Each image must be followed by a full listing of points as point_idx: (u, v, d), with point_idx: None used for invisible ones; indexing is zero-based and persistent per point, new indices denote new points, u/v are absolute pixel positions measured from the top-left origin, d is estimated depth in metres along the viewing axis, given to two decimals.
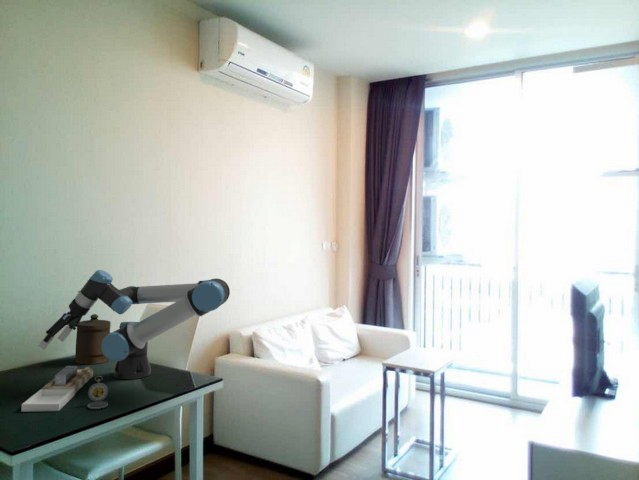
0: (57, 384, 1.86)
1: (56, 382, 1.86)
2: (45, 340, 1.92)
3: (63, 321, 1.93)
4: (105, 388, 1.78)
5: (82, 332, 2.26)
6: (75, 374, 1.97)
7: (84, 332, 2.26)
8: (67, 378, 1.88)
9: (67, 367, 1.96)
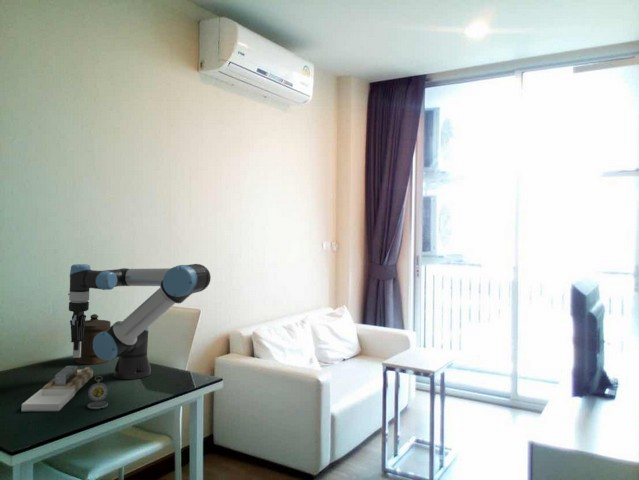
0: (57, 384, 1.86)
1: (56, 382, 1.86)
2: (75, 348, 2.03)
3: (75, 326, 2.00)
4: (105, 388, 1.78)
5: None
6: (75, 374, 1.97)
7: (84, 332, 2.26)
8: (67, 378, 1.88)
9: (67, 367, 1.96)
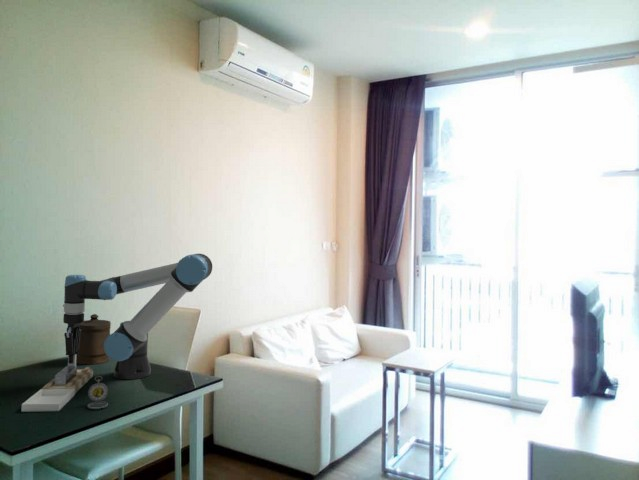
0: (57, 384, 1.86)
1: (56, 382, 1.86)
2: (70, 361, 1.97)
3: (70, 339, 1.94)
4: (105, 388, 1.78)
5: (82, 332, 2.26)
6: (75, 374, 1.97)
7: (84, 332, 2.26)
8: (67, 378, 1.88)
9: (67, 367, 1.96)
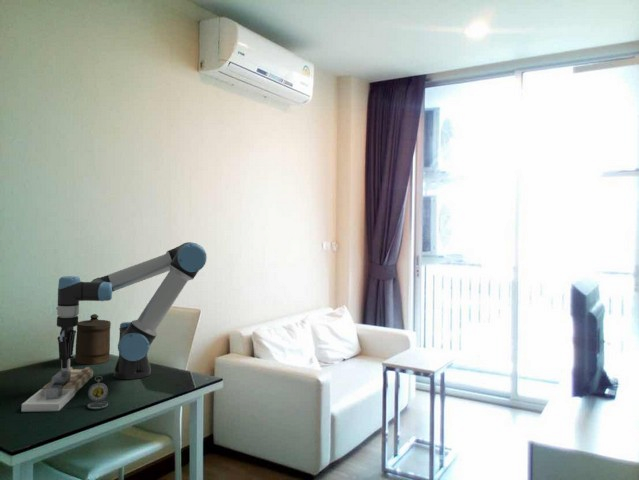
0: None
1: None
2: (64, 366, 1.90)
3: (63, 343, 1.87)
4: (105, 388, 1.78)
5: (82, 332, 2.26)
6: (68, 380, 1.90)
7: (84, 332, 2.26)
8: (59, 392, 1.81)
9: (60, 372, 1.89)
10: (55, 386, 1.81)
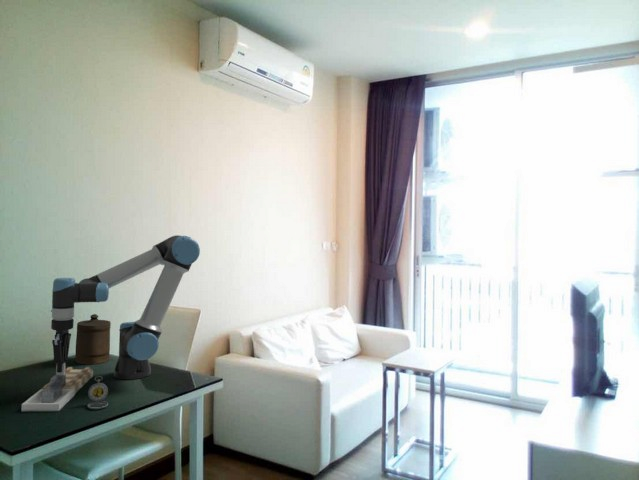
0: None
1: None
2: (59, 370, 1.85)
3: (58, 346, 1.82)
4: (105, 388, 1.78)
5: (82, 332, 2.26)
6: (63, 384, 1.84)
7: (84, 332, 2.26)
8: (55, 396, 1.76)
9: (54, 377, 1.84)
10: (51, 389, 1.77)
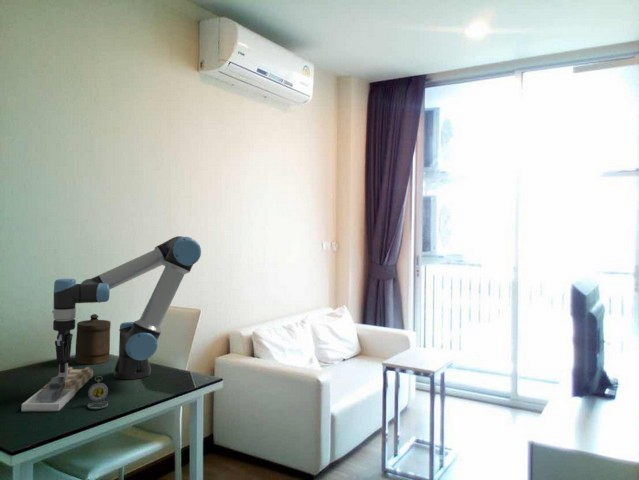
0: None
1: None
2: (61, 371, 1.86)
3: (61, 347, 1.83)
4: (105, 388, 1.78)
5: (82, 332, 2.26)
6: (62, 387, 1.83)
7: (84, 332, 2.26)
8: (53, 398, 1.75)
9: (53, 380, 1.81)
10: (49, 391, 1.75)
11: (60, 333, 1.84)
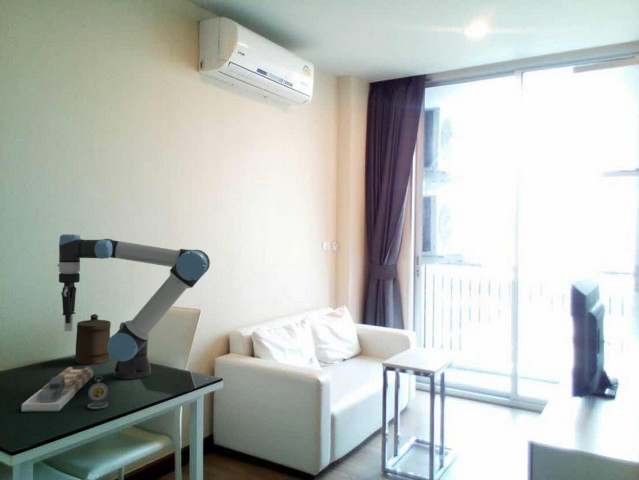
0: None
1: None
2: (67, 321, 1.95)
3: (67, 298, 1.92)
4: (105, 388, 1.78)
5: (82, 332, 2.26)
6: (62, 387, 1.83)
7: (84, 332, 2.26)
8: (53, 398, 1.75)
9: (53, 380, 1.81)
10: (49, 391, 1.75)
11: (66, 285, 1.93)
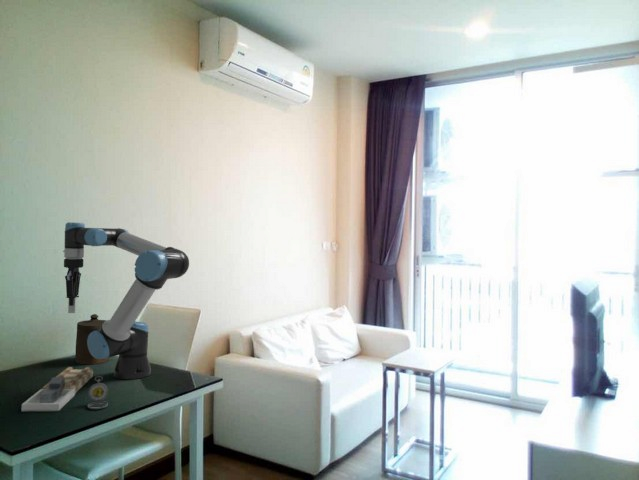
0: None
1: None
2: (71, 304, 2.09)
3: (70, 281, 2.05)
4: (105, 388, 1.78)
5: (82, 332, 2.26)
6: (62, 387, 1.83)
7: (84, 332, 2.26)
8: (53, 398, 1.75)
9: (53, 380, 1.81)
10: (49, 391, 1.75)
11: (70, 269, 2.07)
